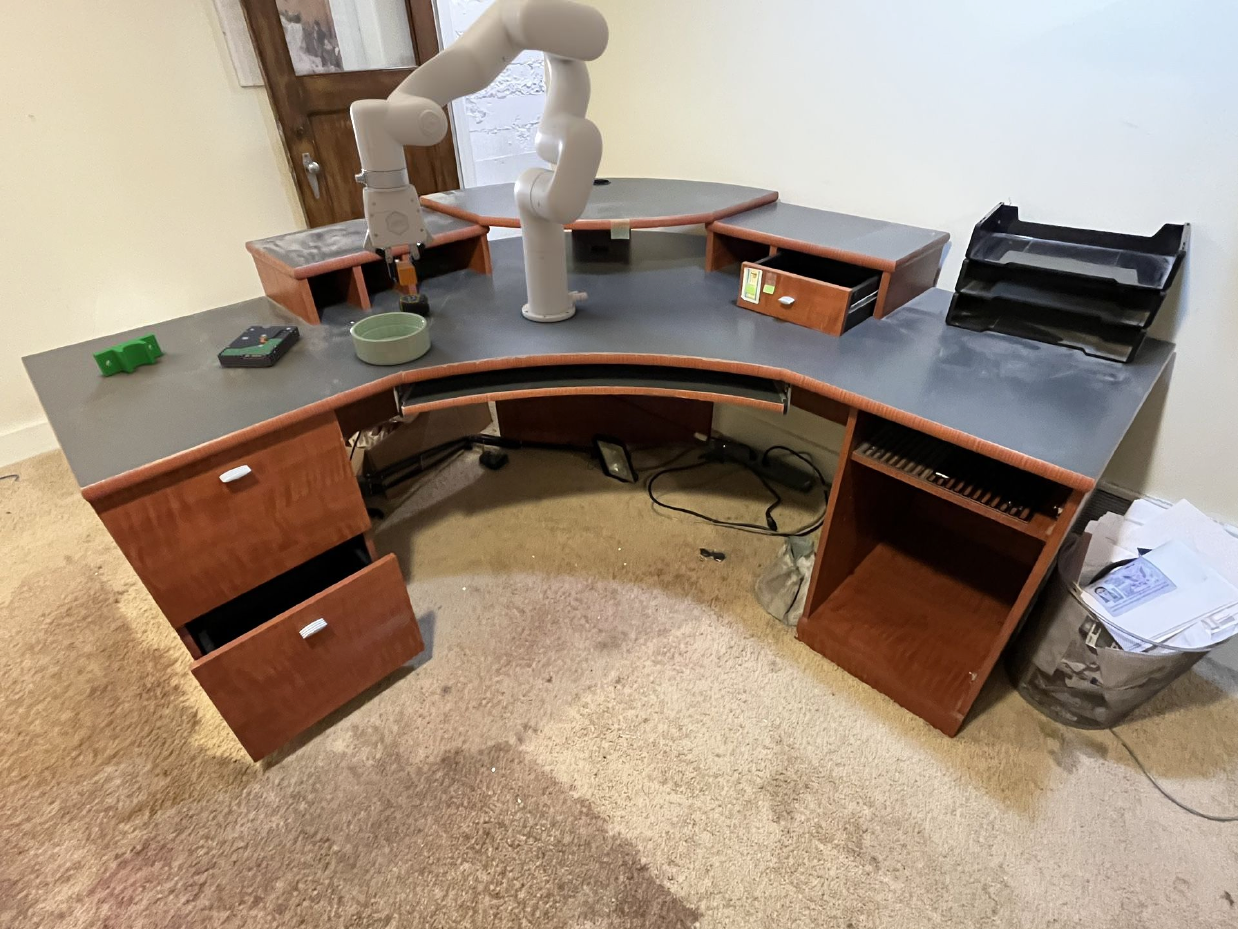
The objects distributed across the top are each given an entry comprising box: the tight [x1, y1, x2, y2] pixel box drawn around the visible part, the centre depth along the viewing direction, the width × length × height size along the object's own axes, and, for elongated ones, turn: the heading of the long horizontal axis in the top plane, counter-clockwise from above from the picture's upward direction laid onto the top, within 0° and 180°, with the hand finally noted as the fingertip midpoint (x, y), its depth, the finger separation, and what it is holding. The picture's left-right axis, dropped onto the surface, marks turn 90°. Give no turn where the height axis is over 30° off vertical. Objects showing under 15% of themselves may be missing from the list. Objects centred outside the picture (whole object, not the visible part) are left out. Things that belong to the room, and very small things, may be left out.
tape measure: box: [398, 293, 430, 316], centre depth 147 cm, size 7×7×4 cm
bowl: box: [349, 311, 432, 366], centre depth 130 cm, size 15×15×6 cm
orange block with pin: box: [394, 259, 418, 287], centre depth 123 cm, size 12×3×3 cm, turn 27°
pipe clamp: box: [92, 333, 164, 377], centre depth 124 cm, size 11×4×5 cm, turn 153°
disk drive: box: [217, 325, 301, 367], centre depth 130 cm, size 10×3×15 cm
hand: (406, 278), depth 122 cm, fingers closed on orange block with pin, 3 cm apart
